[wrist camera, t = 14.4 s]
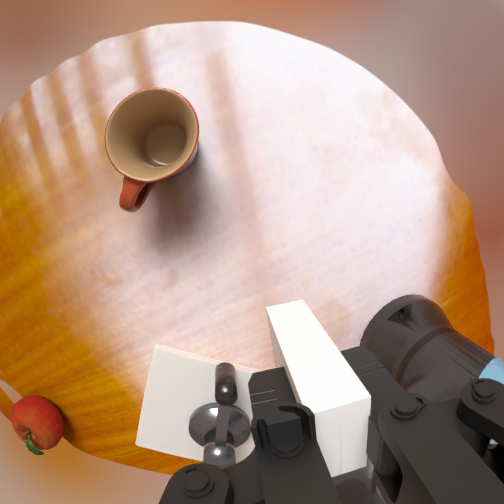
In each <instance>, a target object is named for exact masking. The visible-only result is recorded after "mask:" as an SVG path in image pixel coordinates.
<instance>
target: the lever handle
mask: <svg viewBox="0 0 504 504" xmlns="http://www.w3.org/2000/svg"><path fill="white" fill-rule="evenodd" d="M237 399H238V396H237V385H236V374H235V368H234V366H233V365H232V364H230V363H227V362H223V363H220V364H218V365H217V366H216V368H215V400H216V403H209V404H205V405H203V406H201V407H199V408H197V409H196V410H195V411H194V412H193V413H192V415H191V416H190V419H189V428H188V429H189V434H190V436H191V438H192V439H193V440H194V441H195V442H196V443H197V444H199V445H200V446H202V447H204V452H203V463H207V464H211V465H216V466H217V467H219V468H220V469H224V468H227V467H229V466H232V465H234V464H236V459H235V448H236V447H238V446H240V445H242V444H243V443H245V442H246V441H247V439H248V438H249V436H250V433H251V429H250V427H251V425H250V420H249V417H248V415H247V414H246V413H245V412H244V411H243V410H242V409H241V408H239V407H237V406H235V405H232V404H234V403H235V402H236V401H237Z"/></svg>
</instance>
